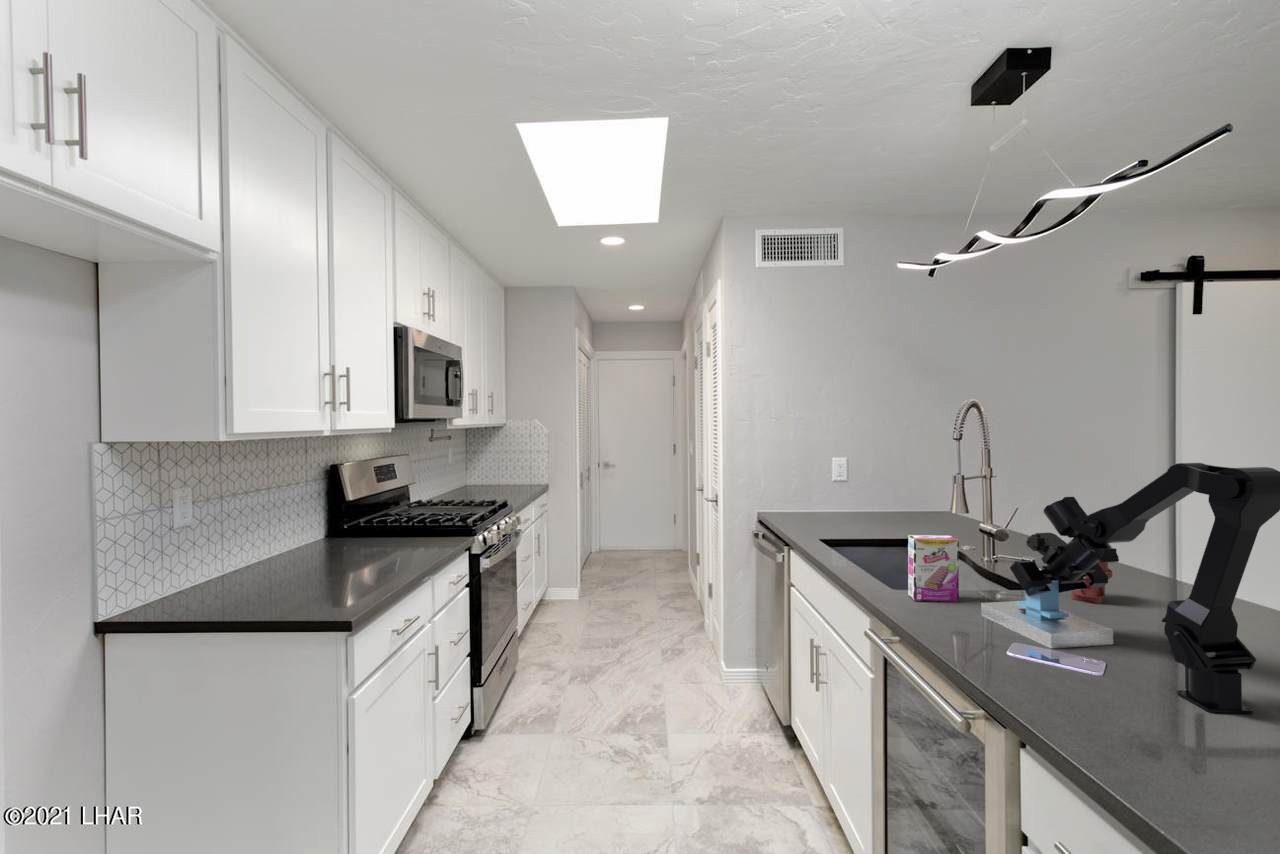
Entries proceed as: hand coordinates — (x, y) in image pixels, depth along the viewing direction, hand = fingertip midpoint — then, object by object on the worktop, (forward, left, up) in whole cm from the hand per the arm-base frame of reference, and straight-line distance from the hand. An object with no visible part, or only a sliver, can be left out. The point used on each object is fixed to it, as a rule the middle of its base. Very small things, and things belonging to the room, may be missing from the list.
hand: (1037, 593), depth 128 cm
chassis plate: (-1, 0, -7) cm, 8 cm away
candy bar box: (+19, +15, -8) cm, 25 cm away
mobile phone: (-18, +7, -8) cm, 21 cm away
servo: (-1, 0, -7) cm, 7 cm away
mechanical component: (+20, -23, -8) cm, 32 cm away
